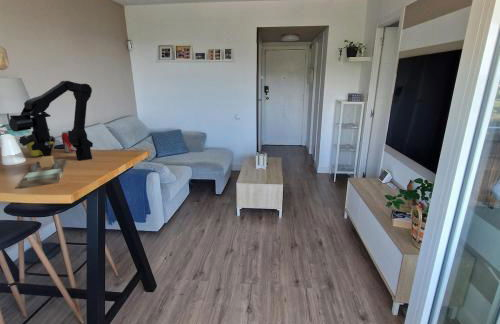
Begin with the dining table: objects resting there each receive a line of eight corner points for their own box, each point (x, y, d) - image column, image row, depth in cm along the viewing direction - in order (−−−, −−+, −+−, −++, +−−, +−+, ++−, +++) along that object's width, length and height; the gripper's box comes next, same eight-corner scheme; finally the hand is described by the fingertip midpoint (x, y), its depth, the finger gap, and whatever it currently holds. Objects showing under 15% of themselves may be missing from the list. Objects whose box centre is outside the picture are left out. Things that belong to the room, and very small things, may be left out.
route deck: (66, 163, 139) (64, 154, 138) (58, 182, 112) (55, 172, 111) (38, 166, 134) (35, 158, 133) (21, 188, 107) (18, 177, 105)
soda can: (68, 153, 157) (64, 133, 154) (62, 152, 161) (58, 132, 158) (81, 151, 163) (77, 131, 160) (75, 149, 167) (71, 130, 163)
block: (54, 163, 130) (52, 155, 129) (52, 166, 126) (50, 157, 125) (42, 165, 128) (40, 156, 127) (41, 167, 124) (38, 159, 123)
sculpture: (25, 151, 157) (30, 128, 156) (51, 156, 164) (57, 134, 164) (21, 156, 145) (27, 132, 144) (50, 161, 152) (56, 138, 151)
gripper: (23, 126, 129) (31, 158, 134) (12, 132, 114) (22, 168, 118) (51, 124, 134) (58, 155, 139) (44, 130, 118) (52, 164, 123)
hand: (48, 160), depth 130 cm, fingers closed
